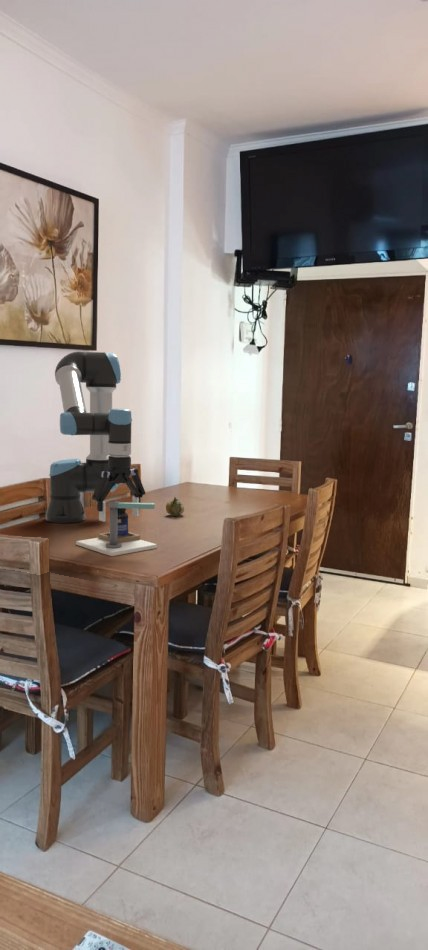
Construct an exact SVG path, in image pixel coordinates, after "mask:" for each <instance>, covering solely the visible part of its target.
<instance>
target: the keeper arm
mask: <svg viewBox="0 0 428 950" xmlns="http://www.w3.org/2000/svg"><path fill="white" fill-rule="evenodd" d="M107 505H108V506H107V508H109V509H110V508H126V509H131V510H132V509H139V510H140V509H141V510H155V508H156V503H155V502H140V503H132V502H125V501H124V502H122V501H121V502H120V501H118V500H109V501H107Z"/></svg>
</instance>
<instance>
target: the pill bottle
mask: <svg viewBox="0 0 428 950" xmlns="http://www.w3.org/2000/svg"><path fill="white" fill-rule="evenodd" d="M126 511H127V508H118V533H117V538H121V537H127V536H128V532H129V514H128V513H127V512H126Z"/></svg>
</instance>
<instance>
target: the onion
mask: <svg viewBox="0 0 428 950" xmlns="http://www.w3.org/2000/svg"><path fill="white" fill-rule="evenodd" d="M165 511H166V513H167V514H168V515H169V516H172V517H179V516H181V515H182V514H183V513H184V512H185V506H184V504H183V502H182V501H181V500H180V498H178V497H176V496H174V498H173V499H171V500H169V501H168V502H166V505H165Z"/></svg>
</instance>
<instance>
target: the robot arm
mask: <svg viewBox="0 0 428 950" xmlns="http://www.w3.org/2000/svg"><path fill="white" fill-rule="evenodd" d="M121 375H122V374H121V365H120V361H119V357H118V356H117V355H116V354H115V353H113V352H106V351H103V352H101V351H100V352H99V351H97V352H95V351H73V352H70V353H68V354H66V355H65V356H64V357H62V358H61V359H60V360H59V362H58V363H57V364H56V367H55V371H54V376H55V382H56V384H57V385H59V390H60V395H61V402H62V408H63V412H61V413H60V416H59V431H60V433H61V434H62V435H65V436H66V435H67V436H69V435H70V436H89V454H87V456H86V457H85V462H82V461H81V459H80V458H68V459H61V460H57V461H54V462H52V463H51V464H50V466H49V475H48V476H49V488H50V489H49V502H48V505H47V510H46V511H45V521H46V522H50V523H55V524H57V523H58V524H67V523H68V524H70V523H80V522H83V521H85V520H86V511H85V509H84V505H83V503H82V501H81V500H82V498H81V494H82V493H93V494H92V496H91V499H92V500H94V501H96V504H97V506H96V509H97V512H98V520H99V521H101V522H106V518H107V517H106V516H107V515H106V513H107V512H106V511H107V509H106V508H107V507H106V506H107V505H106V504H107V502H106V501H105V500H106V498H107V496H108V495H109V493H111V492H115V490H116V491H117V488H118V486H119V484H125V485H126V486H127V488H128V489H129V490H130V492H131V493H132V494H133V496H132V497H131V503H141V498H143V496H144V495H146V490H145V488H144V486H143V483H142V480H141V478H140V476H139V470H138V468H134V467H132V457H131V455H132V422H133V418H132V411H131V410H130V409H129V408H113V393H114V391H116V389H117V385H118V384H120V383H121V380H122V376H121ZM81 383H83V384H84V383H85V388H86V389H87V391H88V392H89V412H87V409H86V404H85V399H84V394H83V389H82V384H81ZM131 467H132V468H131ZM130 476H131V477H130ZM139 510H140V509H131V516H134V517H139V513H140V511H139Z"/></svg>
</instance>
